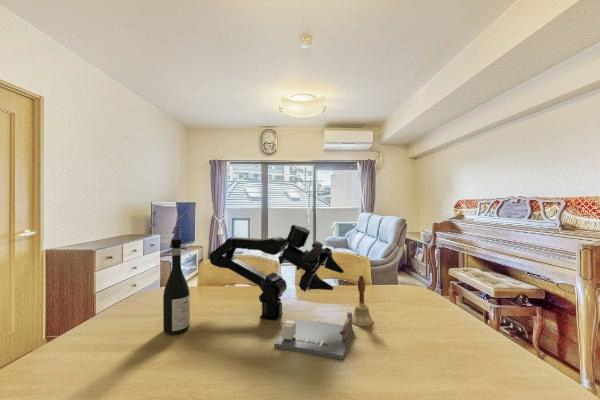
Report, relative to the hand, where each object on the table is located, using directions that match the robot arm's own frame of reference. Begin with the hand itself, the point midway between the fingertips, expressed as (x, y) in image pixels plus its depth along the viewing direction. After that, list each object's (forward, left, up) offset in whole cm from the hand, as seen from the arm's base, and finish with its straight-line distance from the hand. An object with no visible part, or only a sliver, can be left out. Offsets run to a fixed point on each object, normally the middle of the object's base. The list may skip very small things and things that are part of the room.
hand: (338, 280), depth 95 cm
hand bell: (+7, +7, -16) cm, 19 cm away
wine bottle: (-50, -19, -16) cm, 56 cm away
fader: (-12, -15, -14) cm, 24 cm away
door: (+3, -7, -14) cm, 16 cm away
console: (-5, -10, -16) cm, 19 cm away
